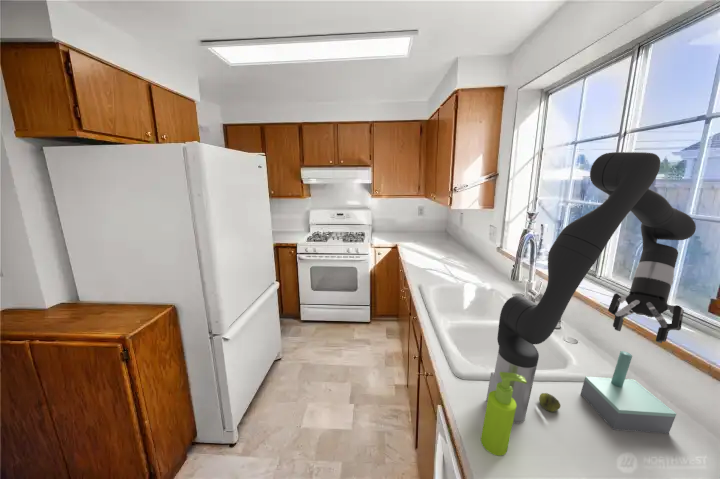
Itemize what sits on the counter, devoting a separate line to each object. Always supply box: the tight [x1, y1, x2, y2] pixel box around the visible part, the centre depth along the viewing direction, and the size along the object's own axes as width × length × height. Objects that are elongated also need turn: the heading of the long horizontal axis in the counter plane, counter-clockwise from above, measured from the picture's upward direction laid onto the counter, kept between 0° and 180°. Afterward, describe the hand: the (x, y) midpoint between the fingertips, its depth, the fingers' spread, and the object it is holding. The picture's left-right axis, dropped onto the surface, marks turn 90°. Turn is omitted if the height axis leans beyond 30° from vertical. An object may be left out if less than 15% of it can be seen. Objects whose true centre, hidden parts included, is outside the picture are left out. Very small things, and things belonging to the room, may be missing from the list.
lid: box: [584, 350, 677, 418], centre depth 77 cm, size 14×12×12 cm
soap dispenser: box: [480, 372, 527, 457], centre depth 67 cm, size 6×7×20 cm
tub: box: [580, 379, 676, 434], centre depth 79 cm, size 14×12×6 cm
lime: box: [538, 392, 561, 413], centre depth 79 cm, size 4×5×5 cm
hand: (637, 336), depth 77 cm, fingers open, 8 cm apart
